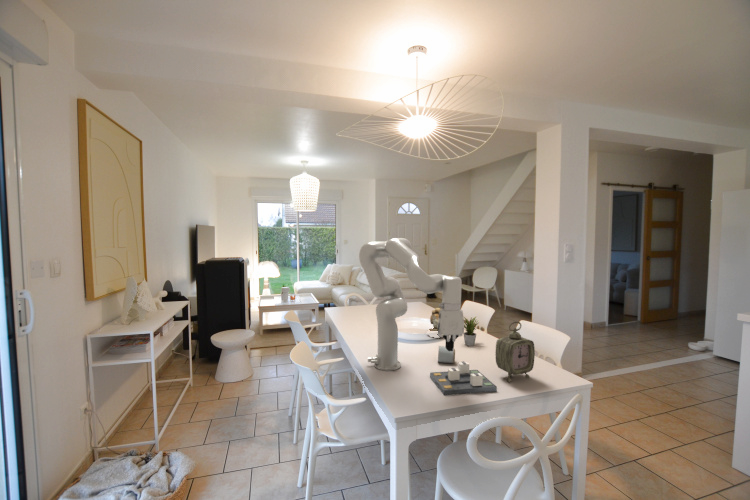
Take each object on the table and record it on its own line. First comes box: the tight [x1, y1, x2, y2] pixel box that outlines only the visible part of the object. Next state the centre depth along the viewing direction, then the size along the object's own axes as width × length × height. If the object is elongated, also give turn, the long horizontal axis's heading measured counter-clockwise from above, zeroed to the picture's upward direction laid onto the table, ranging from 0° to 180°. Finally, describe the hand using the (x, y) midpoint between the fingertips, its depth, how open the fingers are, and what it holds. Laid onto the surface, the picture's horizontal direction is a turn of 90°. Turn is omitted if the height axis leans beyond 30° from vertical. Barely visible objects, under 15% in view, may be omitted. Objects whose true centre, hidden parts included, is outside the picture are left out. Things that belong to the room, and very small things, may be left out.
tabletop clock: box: [494, 321, 536, 383], centre depth 145 cm, size 14×9×25 cm, turn 114°
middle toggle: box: [447, 367, 460, 381], centre depth 138 cm, size 4×2×4 cm, turn 99°
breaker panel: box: [429, 369, 498, 396], centre depth 139 cm, size 22×17×3 cm
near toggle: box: [470, 372, 483, 386], centre depth 133 cm, size 4×2×4 cm, turn 99°
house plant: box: [463, 316, 482, 347], centre depth 190 cm, size 14×14×16 cm
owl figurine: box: [429, 307, 444, 340], centre depth 208 cm, size 18×12×17 cm, turn 0°
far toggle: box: [457, 360, 470, 374], centre depth 145 cm, size 4×2×4 cm, turn 99°
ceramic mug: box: [437, 345, 456, 364], centre depth 164 cm, size 11×8×8 cm
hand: (449, 350), depth 138 cm, fingers closed
